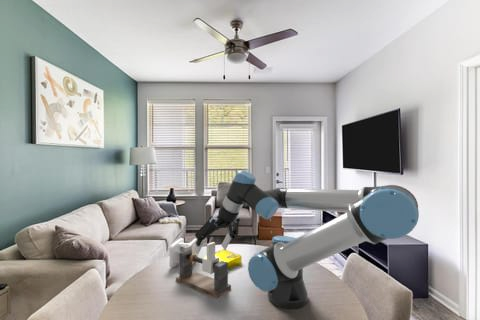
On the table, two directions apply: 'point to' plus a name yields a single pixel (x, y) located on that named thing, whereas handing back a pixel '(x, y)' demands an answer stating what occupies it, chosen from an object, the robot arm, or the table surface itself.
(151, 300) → the table surface
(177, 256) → the cable organizer
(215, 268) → the cord rack
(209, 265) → the sleeve
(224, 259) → the element tile
